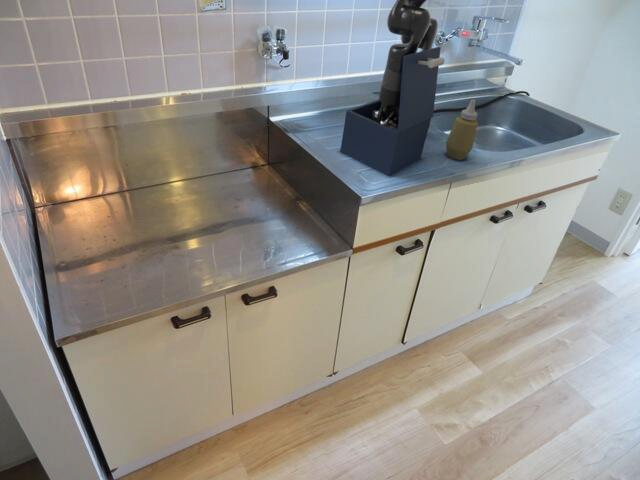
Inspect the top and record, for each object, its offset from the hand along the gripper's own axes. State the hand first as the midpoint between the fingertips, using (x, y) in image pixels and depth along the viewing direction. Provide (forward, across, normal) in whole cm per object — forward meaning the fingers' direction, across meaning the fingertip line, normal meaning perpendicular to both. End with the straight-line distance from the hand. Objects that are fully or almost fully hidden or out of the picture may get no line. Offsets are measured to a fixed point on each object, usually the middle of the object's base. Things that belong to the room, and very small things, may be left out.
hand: (383, 140), depth 139 cm
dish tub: (+5, 0, 0) cm, 5 cm away
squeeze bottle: (+5, +20, -15) cm, 25 cm away
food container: (+4, 0, 0) cm, 4 cm away
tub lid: (-18, 0, -7) cm, 19 cm away
